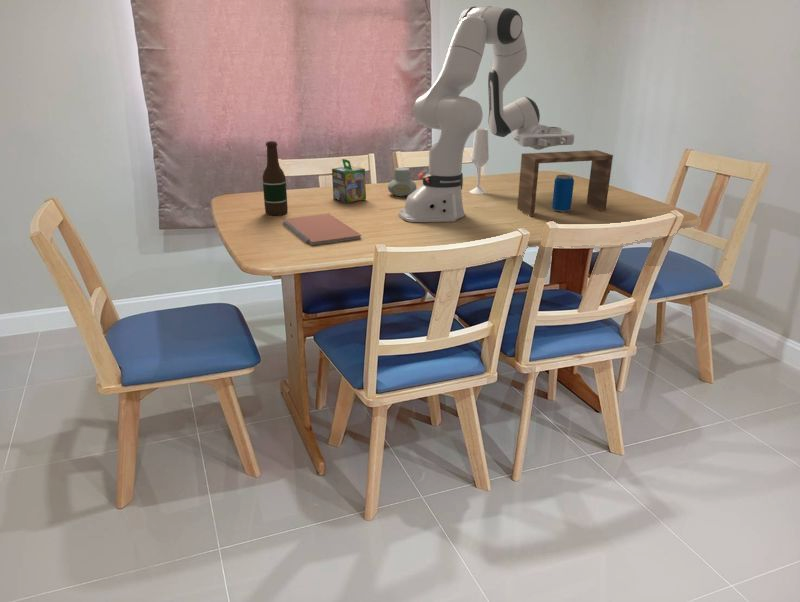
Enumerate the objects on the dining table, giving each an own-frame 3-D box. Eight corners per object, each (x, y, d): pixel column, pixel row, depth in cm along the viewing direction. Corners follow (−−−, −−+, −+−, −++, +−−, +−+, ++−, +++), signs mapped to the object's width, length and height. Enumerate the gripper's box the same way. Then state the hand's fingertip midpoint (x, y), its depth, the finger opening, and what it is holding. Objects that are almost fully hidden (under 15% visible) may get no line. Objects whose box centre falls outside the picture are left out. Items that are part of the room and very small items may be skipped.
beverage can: (570, 213, 217) (575, 178, 213) (551, 212, 219) (555, 178, 214) (570, 208, 223) (574, 175, 218) (551, 207, 224) (554, 174, 220)
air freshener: (386, 197, 238) (386, 170, 234) (389, 191, 245) (389, 166, 241) (415, 197, 236) (415, 171, 232) (417, 192, 244) (417, 167, 240)
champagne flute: (482, 189, 249) (485, 127, 240) (489, 193, 244) (493, 130, 234) (466, 190, 248) (469, 128, 238) (473, 194, 242) (477, 130, 232)
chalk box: (366, 200, 233) (365, 159, 227) (345, 203, 228) (344, 162, 222) (352, 195, 240) (351, 156, 234) (332, 198, 235) (330, 158, 229)
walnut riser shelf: (529, 216, 213) (535, 158, 205) (517, 209, 222) (521, 153, 214) (605, 211, 220) (613, 155, 212) (590, 204, 229) (596, 150, 221)
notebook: (280, 224, 205) (280, 218, 204) (329, 218, 212) (328, 212, 211) (308, 248, 182) (308, 241, 182) (361, 240, 189) (361, 234, 189)
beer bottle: (279, 209, 220) (274, 139, 211) (292, 213, 215) (288, 142, 206) (260, 213, 215) (254, 141, 206) (273, 217, 210) (268, 144, 201)
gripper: (512, 129, 228) (530, 134, 216) (563, 127, 233) (583, 132, 221) (511, 146, 230) (528, 153, 218) (561, 144, 235) (580, 150, 223)
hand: (556, 143), depth 219 cm, fingers open, 5 cm apart
